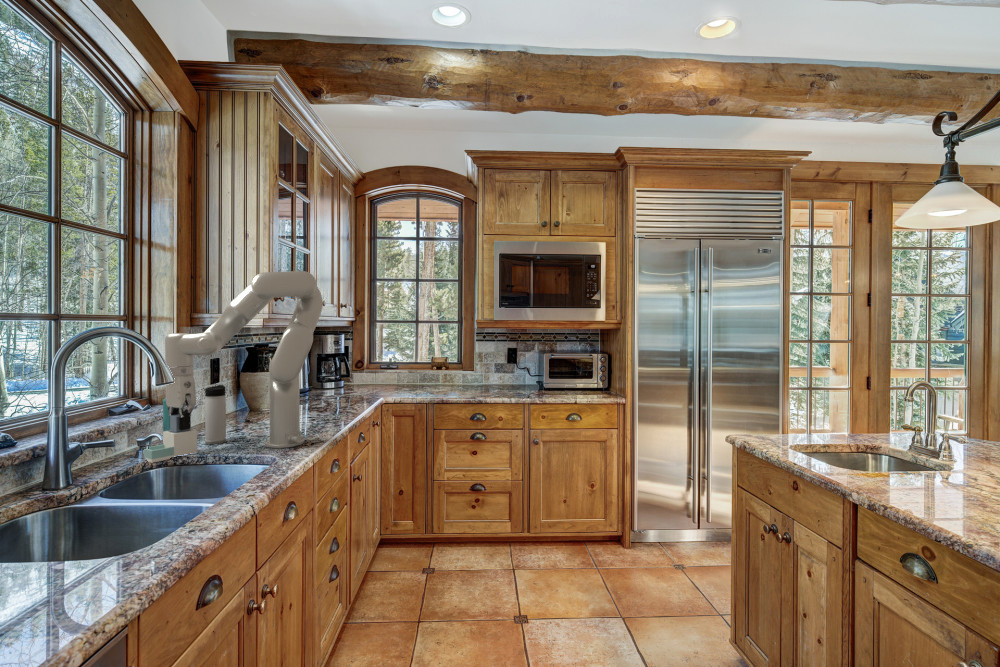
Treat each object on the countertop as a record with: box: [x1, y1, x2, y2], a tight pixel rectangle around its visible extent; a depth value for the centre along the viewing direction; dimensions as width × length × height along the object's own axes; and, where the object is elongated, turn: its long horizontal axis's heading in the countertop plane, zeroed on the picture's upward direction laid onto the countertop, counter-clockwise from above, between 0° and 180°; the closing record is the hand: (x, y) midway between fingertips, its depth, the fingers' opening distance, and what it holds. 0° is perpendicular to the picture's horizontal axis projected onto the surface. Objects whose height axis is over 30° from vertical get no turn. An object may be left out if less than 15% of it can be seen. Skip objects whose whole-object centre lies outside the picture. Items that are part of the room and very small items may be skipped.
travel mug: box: [204, 384, 227, 445], centre depth 170 cm, size 6×7×20 cm
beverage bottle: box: [162, 396, 185, 433], centre depth 169 cm, size 6×7×20 cm
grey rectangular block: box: [170, 414, 191, 433], centre depth 154 cm, size 4×4×8 cm
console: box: [143, 428, 198, 464], centre depth 152 cm, size 7×13×8 cm, turn 149°
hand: (180, 427), depth 154 cm, fingers open, 5 cm apart
